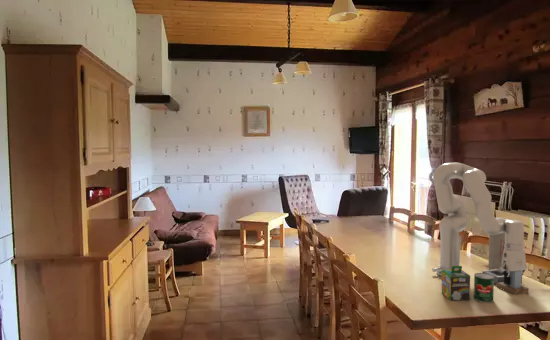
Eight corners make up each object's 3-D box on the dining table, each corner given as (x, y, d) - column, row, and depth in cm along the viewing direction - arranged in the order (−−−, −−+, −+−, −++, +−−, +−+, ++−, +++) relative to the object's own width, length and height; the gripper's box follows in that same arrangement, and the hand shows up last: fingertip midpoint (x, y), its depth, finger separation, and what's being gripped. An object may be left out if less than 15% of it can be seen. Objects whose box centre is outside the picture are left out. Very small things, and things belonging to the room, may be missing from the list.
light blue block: (514, 292, 186) (515, 270, 185) (504, 288, 192) (505, 267, 191) (520, 291, 187) (521, 270, 186) (510, 287, 193) (511, 266, 192)
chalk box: (460, 292, 186) (460, 262, 185) (470, 300, 177) (471, 268, 176) (440, 293, 186) (441, 262, 185) (450, 300, 177) (450, 268, 176)
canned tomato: (487, 295, 182) (487, 272, 181) (497, 302, 174) (498, 278, 174) (470, 296, 182) (470, 272, 181) (479, 303, 174) (480, 278, 173)
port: (497, 285, 196) (497, 276, 195) (482, 278, 205) (482, 270, 205) (514, 283, 198) (514, 275, 198) (498, 277, 208) (498, 269, 207)
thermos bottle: (508, 271, 217) (509, 221, 215) (496, 272, 214) (498, 221, 213) (496, 267, 224) (498, 218, 222) (484, 268, 222) (486, 219, 220)
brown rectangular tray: (514, 294, 183) (514, 290, 183) (497, 287, 193) (497, 282, 193) (528, 292, 185) (528, 288, 185) (510, 285, 195) (510, 281, 195)
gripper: (505, 249, 182) (504, 287, 183) (535, 247, 186) (534, 284, 188) (492, 245, 189) (491, 282, 191) (522, 243, 194) (520, 279, 195)
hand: (512, 283), depth 189 cm, fingers open, 5 cm apart
